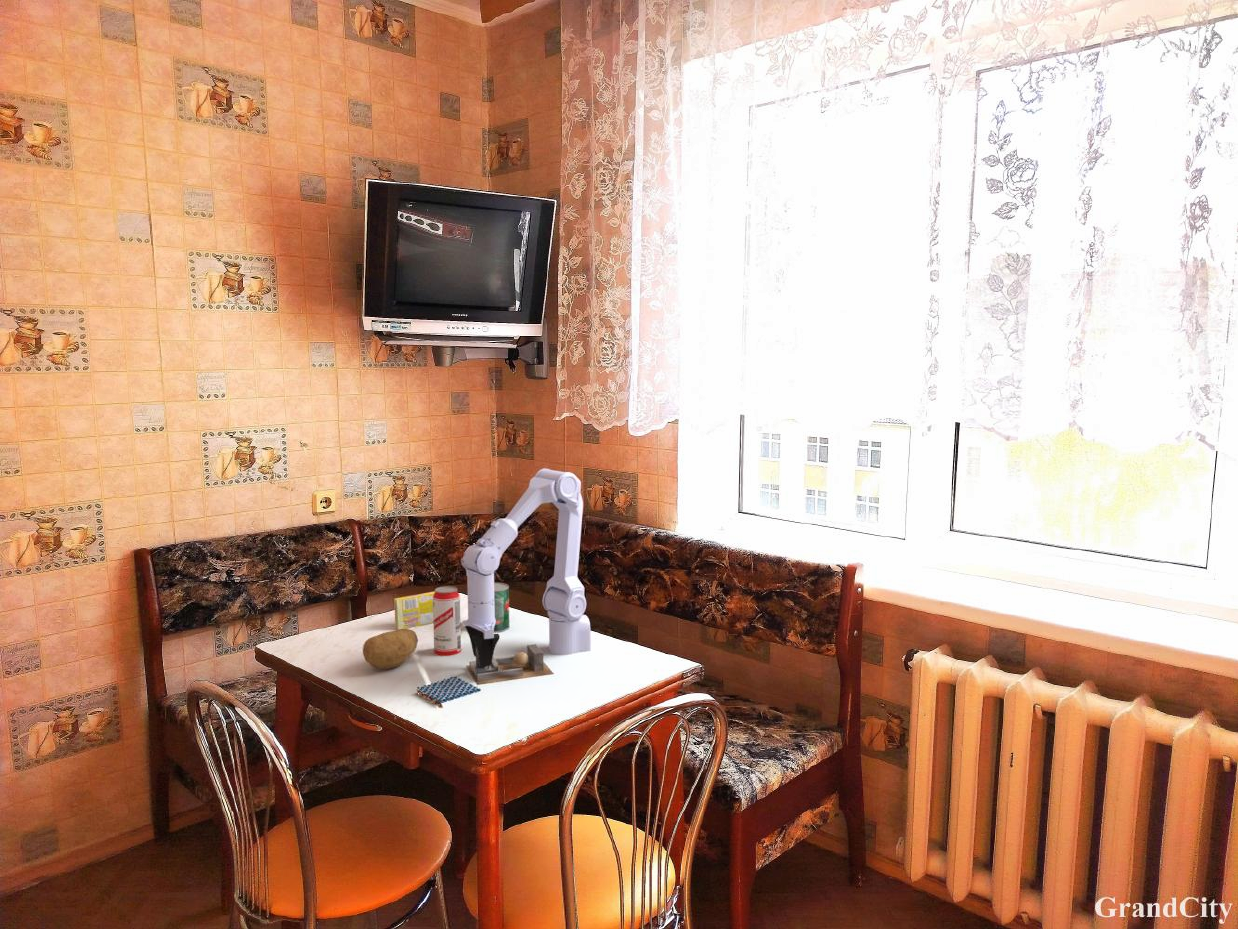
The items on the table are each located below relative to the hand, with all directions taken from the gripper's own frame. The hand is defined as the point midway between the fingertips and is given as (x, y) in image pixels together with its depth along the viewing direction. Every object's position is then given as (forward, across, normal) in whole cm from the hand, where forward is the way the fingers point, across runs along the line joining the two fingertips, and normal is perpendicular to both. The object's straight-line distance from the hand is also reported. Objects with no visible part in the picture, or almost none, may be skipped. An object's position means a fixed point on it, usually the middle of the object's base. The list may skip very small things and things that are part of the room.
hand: (482, 660), depth 187 cm
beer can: (+4, -17, -4) cm, 18 cm away
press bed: (+4, 0, +6) cm, 7 cm away
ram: (+3, 0, 0) cm, 3 cm away
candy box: (+4, -43, -6) cm, 44 cm away
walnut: (+3, 0, +9) cm, 9 cm away
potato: (+4, -15, -18) cm, 23 cm away
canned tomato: (+4, -33, +10) cm, 35 cm away
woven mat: (+5, +6, -9) cm, 12 cm away
